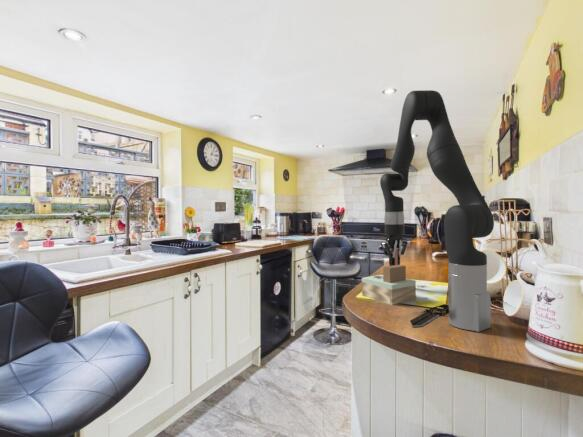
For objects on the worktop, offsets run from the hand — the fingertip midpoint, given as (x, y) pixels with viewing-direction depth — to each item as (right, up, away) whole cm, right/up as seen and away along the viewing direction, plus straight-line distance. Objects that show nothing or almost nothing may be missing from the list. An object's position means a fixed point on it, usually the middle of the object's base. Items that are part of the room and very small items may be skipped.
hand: (394, 266), depth 125 cm
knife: (+1, -11, -31) cm, 33 cm away
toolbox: (-7, -10, -13) cm, 18 cm away
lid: (-7, -4, -13) cm, 16 cm away
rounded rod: (0, -5, 0) cm, 5 cm away
